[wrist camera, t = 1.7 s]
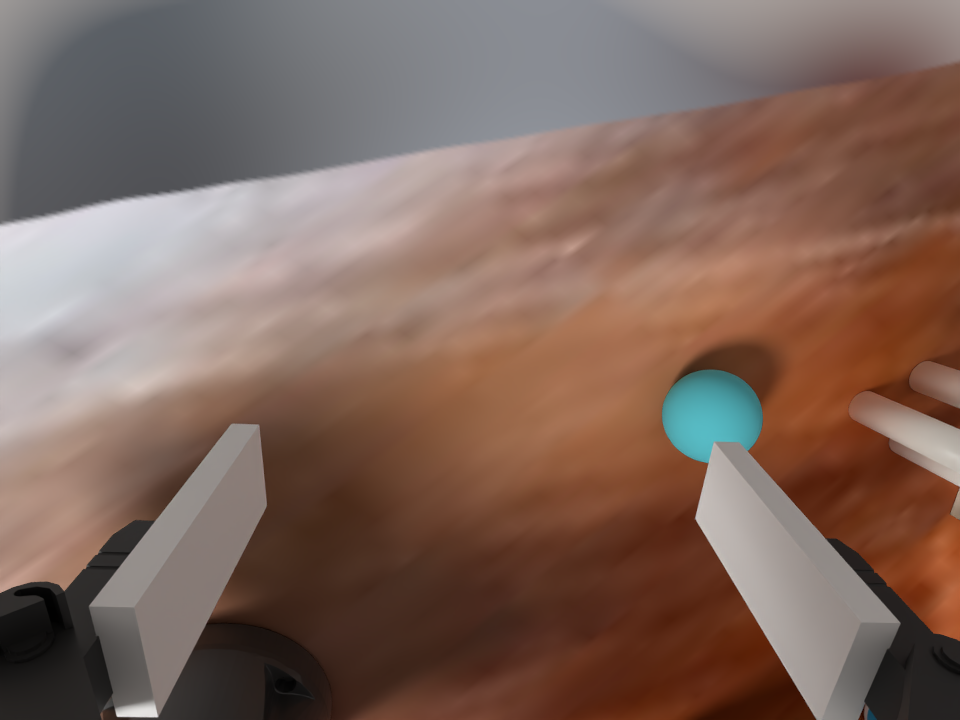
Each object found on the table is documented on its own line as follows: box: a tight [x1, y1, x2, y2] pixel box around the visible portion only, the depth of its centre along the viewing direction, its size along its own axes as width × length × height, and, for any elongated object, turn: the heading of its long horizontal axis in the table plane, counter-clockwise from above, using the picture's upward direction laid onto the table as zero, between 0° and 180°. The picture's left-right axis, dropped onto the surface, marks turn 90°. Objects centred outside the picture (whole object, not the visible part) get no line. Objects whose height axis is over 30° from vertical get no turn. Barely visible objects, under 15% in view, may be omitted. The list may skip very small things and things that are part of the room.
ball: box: [662, 370, 763, 463], centre depth 37 cm, size 6×6×6 cm
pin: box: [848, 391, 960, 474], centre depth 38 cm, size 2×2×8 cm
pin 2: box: [889, 439, 960, 487], centre depth 39 cm, size 2×2×8 cm
